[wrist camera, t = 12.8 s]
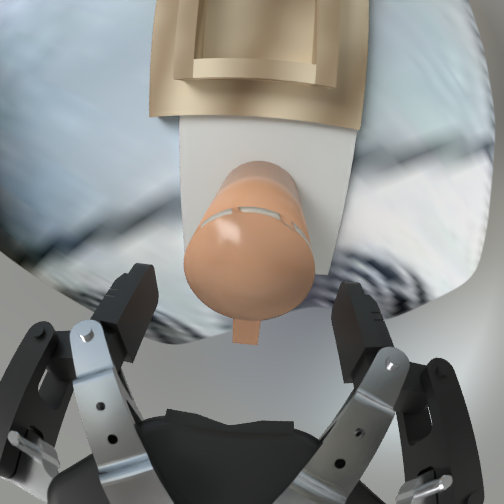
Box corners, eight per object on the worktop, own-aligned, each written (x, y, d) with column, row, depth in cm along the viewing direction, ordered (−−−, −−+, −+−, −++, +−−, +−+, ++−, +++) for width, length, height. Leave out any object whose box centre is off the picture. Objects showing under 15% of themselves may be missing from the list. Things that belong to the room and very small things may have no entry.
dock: (156, 115, 17) (136, 119, 14) (170, -41, 9) (155, -57, 7) (354, 128, 16) (370, 134, 14) (362, -33, 9) (375, -49, 6)
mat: (187, 258, 23) (185, 262, 22) (182, 114, 17) (179, 114, 16) (326, 270, 23) (327, 275, 22) (354, 128, 16) (357, 129, 16)
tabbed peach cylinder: (221, 158, 18) (179, 207, 10) (303, 165, 18) (326, 220, 10) (219, 274, 23) (196, 361, 15) (286, 281, 23) (288, 371, 15)
